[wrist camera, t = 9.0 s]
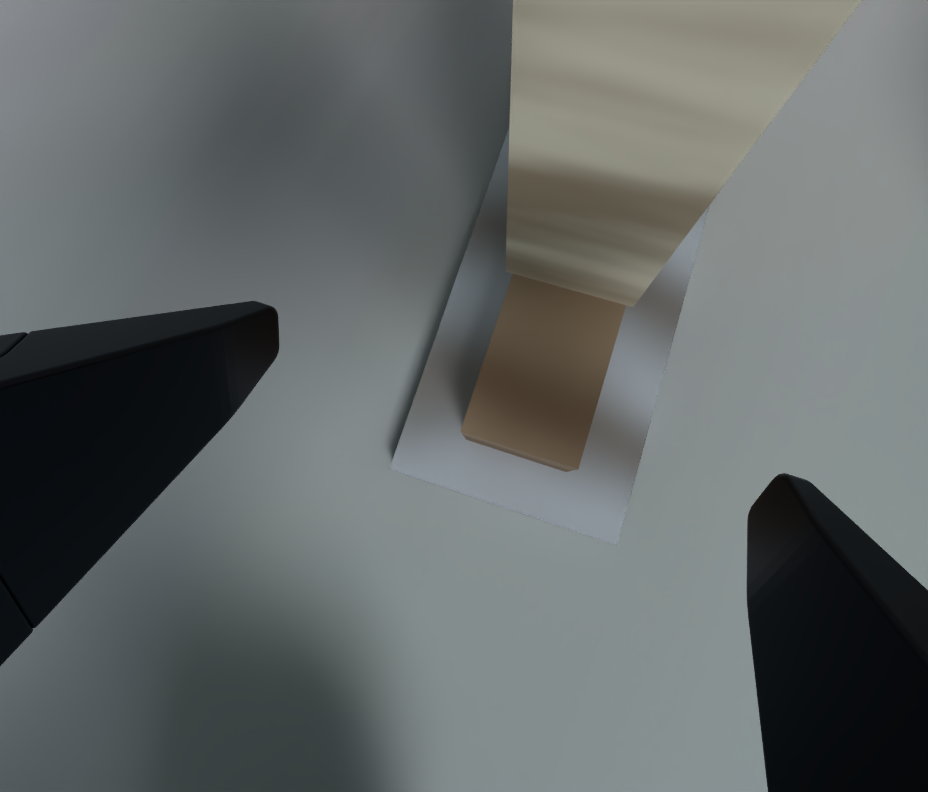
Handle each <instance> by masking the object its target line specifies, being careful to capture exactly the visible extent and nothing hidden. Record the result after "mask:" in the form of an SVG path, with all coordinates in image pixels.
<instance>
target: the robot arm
mask: <svg viewBox="0 0 928 792" xmlns="http://www.w3.org/2000/svg"><path fill="white" fill-rule="evenodd" d="M278 351H279V326H278V313H277V311H276V309H275V308H274V307H272V306H269V305H266V304H263V303H260V302H257V301H249V302H242V303H234V304H227V305H220V306H213V307H205V308H198V309H191V310H183V311H176V312H169V313H162V314H154V315H147V316H140V317H132V318H125V319H118V320H111V321H103V322H96V323H89V324H81V325H74V326H67V327H60V328H52V329H45V330H38V331H32V332H30V333H29V334H27V333H25V332H22V333H15V334H8V335H1V336H0V666H1V665H2V664H3V663H4V662H5V661H6V660H7V658H8V657H9V656H10V655H11V654H12V653H13V652H14V651H15V650H16V649H17V648H18V647H19V646H20V645H21V643H22V642H23V641H24V640H25V639H26V638H27V637H28V636H29V635H30V634H31V633H32V631H33V629H32V628H35V627H37V626H38V625H39V624H40V623H41V621H42V620H43V619H44V618H45V617H46V616H47V615H48V614H49V613H50V612H51V611H52V610H53V609H54V608H55V606H56V605H57V604H58V603H59V602H60V601H61V600H62V599H63V598H64V597H65V596H66V595H67V594H68V593H69V591H70V590H71V589H72V588H73V587H74V586H75V585H76V584H77V583H78V582H79V581H80V580H81V579H82V578H83V576H84V575H85V574H86V573H87V572H88V571H89V570H90V569H91V568H92V567H93V566H94V565H95V564H96V563H97V561H98V560H99V559H100V558H101V557H102V556H103V555H104V554H105V553H106V552H107V551H108V550H109V549H110V548H111V546H112V545H113V544H114V543H115V542H116V541H117V540H118V539H119V538H120V537H121V536H122V535H123V534H124V533H125V531H126V530H127V529H128V528H129V527H130V526H131V525H132V524H133V523H134V522H135V521H136V520H137V519H138V518H139V516H140V515H141V514H142V513H143V512H144V511H145V510H146V509H147V508H148V507H149V506H150V505H151V504H152V503H153V501H154V500H155V499H156V498H157V497H158V496H159V495H160V494H161V493H162V492H163V491H164V490H165V489H166V488H167V486H168V485H169V484H170V483H171V482H172V481H173V480H174V479H175V478H176V477H177V476H178V475H179V474H180V473H181V471H182V470H183V469H184V468H185V467H186V466H187V465H188V464H189V463H190V462H191V461H192V460H193V459H194V457H195V456H196V455H197V454H198V453H199V452H200V451H201V450H202V449H203V448H204V447H205V446H206V445H207V444H208V442H209V441H210V440H211V439H212V438H213V437H214V436H215V435H216V434H217V433H218V432H219V431H220V430H221V429H222V427H223V426H224V425H225V424H226V423H227V422H228V421H229V420H230V418H231V417H232V416H233V415H234V414H235V412H236V411H237V410H238V409H239V407H240V406H241V405H242V403H243V402H244V401H245V399H246V398H247V397H248V395H249V394H250V393H251V391H252V390H253V388H254V387H255V386H256V384H257V383H258V382H259V380H260V379H261V378H262V376H263V375H264V374H265V372H266V371H267V370H268V368H269V367H270V366H271V364H272V363H273V361H274V360H275V358H276V357H277V354H278ZM747 607H748V618H749V627H750V636H751V645H752V654H753V663H754V671H755V680H756V689H757V698H758V707H759V716H760V725H761V733H762V742H763V751H764V760H765V769H766V778H767V787H768V792H928V590H927V589H926V588H925V587H924V586H922V585H921V584H920V583H919V582H918V581H917V580H916V579H915V578H914V577H913V576H912V575H911V574H909V573H908V572H907V571H906V570H905V569H904V568H903V567H902V566H901V565H900V564H899V563H898V562H896V561H895V560H894V559H893V558H892V557H891V556H890V555H889V554H888V553H887V552H886V551H885V550H883V549H882V548H881V547H880V546H879V545H878V544H877V543H876V542H875V541H874V540H873V539H872V538H870V537H869V536H868V535H867V534H866V533H865V532H864V531H863V530H862V529H861V528H860V527H859V526H857V525H856V524H855V523H854V522H853V521H852V520H851V519H850V518H849V517H848V516H847V515H846V514H844V513H843V512H842V511H841V510H840V509H839V508H838V507H837V506H836V505H835V504H834V503H833V502H831V501H830V500H829V499H828V498H827V497H826V496H825V495H824V494H823V493H822V492H821V491H820V490H818V489H817V488H816V487H815V486H814V485H813V484H812V483H811V482H809V481H807V480H805V479H801V478H798V477H795V476H792V475H789V474H785V473H783V474H779V475H777V476H776V477H775V478H774V479H773V480H772V481H771V482H770V484H769V485H768V486H767V487H766V489H765V490H764V491H763V493H762V494H761V495H760V496H759V498H758V499H757V500H756V501H755V503H754V504H753V505H752V507H751V509H750V511H749V514H748V526H747Z"/></svg>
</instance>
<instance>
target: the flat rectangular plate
mask: <svg viewBox="0 0 928 792" xmlns="http://www.w3.org/2000/svg"><path fill="white" fill-rule="evenodd" d="M509 129H510V125H509V128H508V131H507V134H506V137H505V140H504V143H503V145H502V148H501V151H500V154H499V157H498V160H497V163H496V165H495V168H494V171H493V174H492V177H491V180H490V183H489V185H488V188H487V191H486V194H485V197H484V200H483V203H482V205H481V208H480V211H479V214H478V217H477V220H476V223H475V225H474V228H473V231H472V234H471V237H470V240H469V243H468V245H467V248H466V251H465V254H464V257H463V260H462V263H461V265H460V268H459V271H458V274H457V277H456V280H455V283H454V285H453V288H452V291H451V294H450V297H449V300H448V303H447V305H446V308H445V311H444V314H443V317H442V320H441V323H440V325H439V328H438V331H437V334H436V337H435V340H434V343H433V345H432V348H431V351H430V354H429V357H428V360H427V363H426V365H425V368H424V371H423V374H422V377H421V380H420V383H419V385H418V388H417V391H416V394H415V397H414V400H413V403H412V405H411V408H410V411H409V414H408V417H407V420H406V423H405V425H404V428H403V431H402V434H401V437H400V440H399V443H398V445H397V448H396V451H395V454H394V457H393V460H392V463H391V465H390V468H389V469H392V470H394V471H397V472H400V473H403V474H406V475H409V476H412V477H415V478H418V479H421V480H424V481H427V482H430V483H433V484H436V485H439V486H442V487H445V488H448V489H451V490H453V491H456V492H459V493H462V494H465V495H468V496H471V497H474V498H477V499H480V500H483V501H486V502H489V503H492V504H495V505H498V506H501V507H504V508H507V509H509V510H512V511H515V512H518V513H521V514H524V515H527V516H530V517H533V518H536V519H539V520H542V521H545V522H548V523H551V524H554V525H557V526H560V527H563V528H566V529H568V530H571V531H574V532H577V533H580V534H583V535H586V536H589V537H592V538H595V539H598V540H601V541H604V542H607V543H610V544H613V545H616V546H617V543H618V539H619V536H620V532H621V528H622V525H623V521H624V517H625V514H626V510H627V506H628V503H629V499H630V495H631V492H632V488H633V484H634V481H635V477H636V473H637V470H638V466H639V462H640V459H641V455H642V451H643V448H644V444H645V440H646V437H647V433H648V429H649V426H650V422H651V418H652V415H653V411H654V407H655V404H656V400H657V396H658V393H659V389H660V385H661V382H662V378H663V374H664V371H665V367H666V363H667V360H668V356H669V352H670V349H671V345H672V341H673V338H674V334H675V330H676V326H677V323H678V319H679V315H680V312H681V308H682V304H683V301H684V297H685V293H686V290H687V286H688V282H689V279H690V275H691V271H692V268H693V264H694V260H695V257H696V253H697V249H698V246H699V242H700V238H701V235H702V231H703V227H704V224H705V220H706V216H707V213H708V209H709V206H708V208H707V209H706V210H705V212H704V213H703V214H702V216H701V217H700V218H699V220H698V221H697V222H696V224H695V225H694V226H693V228H692V229H691V230H690V232H689V233H688V234H687V236H686V237H685V238H684V240H683V241H682V242H681V244H680V245H679V246H678V248H677V249H676V250H675V252H674V253H673V254H672V256H671V257H670V258H669V260H668V261H667V262H666V264H665V265H664V267H663V268H662V269H661V271H660V272H659V273H658V275H657V276H656V277H655V279H654V280H653V281H652V283H651V284H650V285H649V287H648V288H647V289H646V291H645V292H644V293H643V295H642V296H641V297H640V299H639V300H638V301H637V303H636V304H635V305H634V307H630V306H627V305H623V304H620V303H616V302H613V301H609V300H605V299H602V298H598V297H595V296H591V295H588V294H584V293H580V292H577V291H573V290H570V289H566V288H562V287H559V286H555V285H552V284H548V283H545V282H541V281H537V280H534V279H530V278H527V277H523V276H520V275H516V274H512V273H509V272H505V269H506V234H507V199H508V164H509Z"/></svg>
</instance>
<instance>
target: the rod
mask: <svg viewBox="0 0 928 792" xmlns="http://www.w3.org/2000/svg"><path fill="white" fill-rule="evenodd" d="M861 1H862V0H513V24H512V59H511V94H510V129H509V164H508V199H507V234H506V269H505V272H509V273H512V274H516V275H520V276H523V277H527V278H530V279H534V280H537V281H541V282H545V283H548V284H552V285H555V286H559V287H562V288H566V289H570V290H573V291H577V292H580V293H584V294H588V295H591V296H595V297H598V298H602V299H605V300H609V301H613V302H616V303H620V304H623V305H627V306H630V307H634V305H635V304H636V303H637V301H638V300H639V299H640V297H641V296H642V295H643V293H644V292H645V291H646V289H647V288H648V287H649V285H650V284H651V283H652V281H653V280H654V279H655V277H656V276H657V275H658V273H659V272H660V271H661V269H662V268H663V267H664V265H665V264H666V262H667V261H668V260H669V258H670V257H671V256H672V254H673V253H674V252H675V250H676V249H677V248H678V246H679V245H680V244H681V242H682V241H683V240H684V238H685V237H686V236H687V234H688V233H689V232H690V230H691V229H692V228H693V226H694V225H695V224H696V222H697V221H698V220H699V218H700V217H701V216H702V214H703V213H704V212H705V210H706V209H707V208H708V206H709V205H710V203H711V202H712V201H713V199H714V198H715V197H716V195H717V194H718V193H719V191H720V190H721V189H722V187H723V186H724V185H725V183H726V182H727V181H728V179H729V178H730V177H731V175H732V174H733V173H734V171H735V170H736V169H737V167H738V166H739V165H740V163H741V162H742V161H743V159H744V158H745V157H746V155H747V154H748V153H749V151H750V150H751V149H752V147H753V146H754V144H755V143H756V142H757V140H758V139H759V138H760V136H761V135H762V134H763V132H764V131H765V130H766V128H767V127H768V126H769V124H770V123H771V122H772V120H773V119H774V118H775V116H776V115H777V114H778V112H779V111H780V110H781V108H782V107H783V106H784V104H785V103H786V102H787V100H788V99H789V98H790V96H791V95H792V94H793V92H794V91H795V90H796V88H797V87H798V85H799V84H800V83H801V81H802V80H803V79H804V77H805V76H806V75H807V73H808V72H809V71H810V69H811V68H812V67H813V65H814V64H815V63H816V61H817V60H818V59H819V57H820V56H821V55H822V53H823V52H824V51H825V49H826V48H827V47H828V45H829V44H830V43H831V41H832V40H833V39H834V37H835V36H836V35H837V33H838V32H839V31H840V29H841V28H842V26H843V25H844V24H845V22H846V21H847V20H848V18H849V17H850V16H851V14H852V13H853V12H854V10H855V9H856V8H857V6H858V5H859V4H860V2H861Z"/></svg>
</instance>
